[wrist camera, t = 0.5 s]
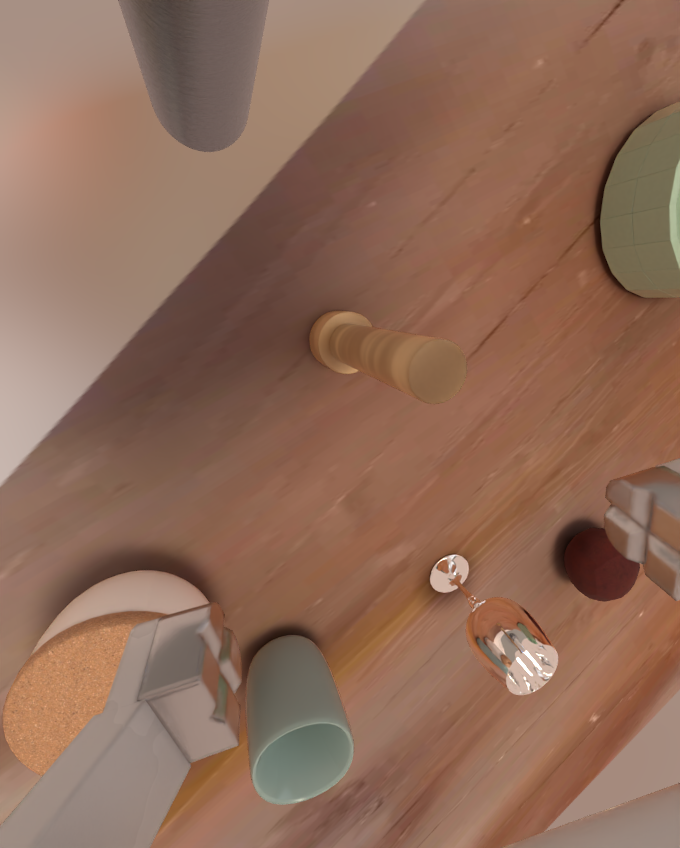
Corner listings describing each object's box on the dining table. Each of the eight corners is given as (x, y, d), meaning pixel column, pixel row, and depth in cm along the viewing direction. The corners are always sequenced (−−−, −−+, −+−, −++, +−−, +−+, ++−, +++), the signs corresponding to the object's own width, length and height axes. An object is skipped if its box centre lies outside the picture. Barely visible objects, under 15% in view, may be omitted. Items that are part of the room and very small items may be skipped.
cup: (327, 673, 41) (360, 780, 32) (249, 699, 40) (260, 820, 30) (318, 610, 39) (350, 706, 30) (234, 635, 37) (241, 746, 28)
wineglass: (437, 607, 43) (513, 713, 32) (414, 570, 41) (488, 670, 30) (481, 575, 44) (572, 669, 33) (462, 537, 41) (552, 624, 30)
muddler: (297, 335, 31) (370, 365, 17) (341, 298, 32) (453, 296, 17) (331, 379, 33) (425, 442, 18) (373, 344, 33) (500, 378, 19)
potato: (610, 508, 46) (663, 537, 41) (601, 571, 49) (650, 605, 43) (555, 522, 44) (603, 554, 39) (548, 586, 47) (593, 624, 41)
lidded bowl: (45, 672, 33) (-31, 836, 23) (70, 531, 31) (-1, 646, 21) (206, 673, 37) (204, 812, 27) (240, 550, 35) (251, 651, 25)
